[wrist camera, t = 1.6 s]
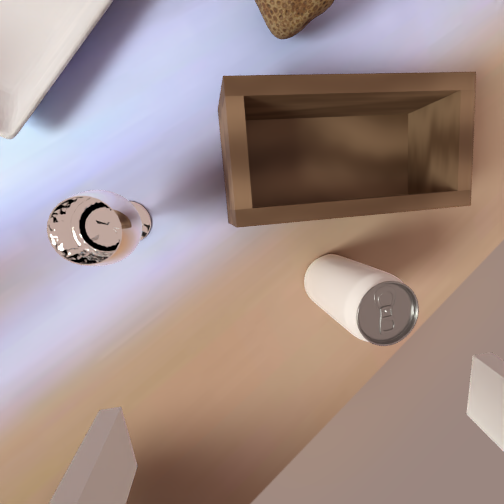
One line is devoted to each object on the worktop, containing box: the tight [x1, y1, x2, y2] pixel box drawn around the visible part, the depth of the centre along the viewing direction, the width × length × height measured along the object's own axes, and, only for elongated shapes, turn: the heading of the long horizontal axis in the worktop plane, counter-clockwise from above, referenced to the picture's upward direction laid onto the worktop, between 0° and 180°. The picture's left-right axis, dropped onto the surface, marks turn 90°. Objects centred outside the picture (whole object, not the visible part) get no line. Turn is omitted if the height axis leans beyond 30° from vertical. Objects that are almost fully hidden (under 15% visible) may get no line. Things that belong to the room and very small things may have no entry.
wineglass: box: [47, 190, 151, 266], centre depth 25 cm, size 6×6×12 cm
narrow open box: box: [218, 72, 476, 227], centre depth 30 cm, size 12×23×8 cm, turn 95°
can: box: [304, 254, 419, 346], centre depth 30 cm, size 6×6×12 cm
